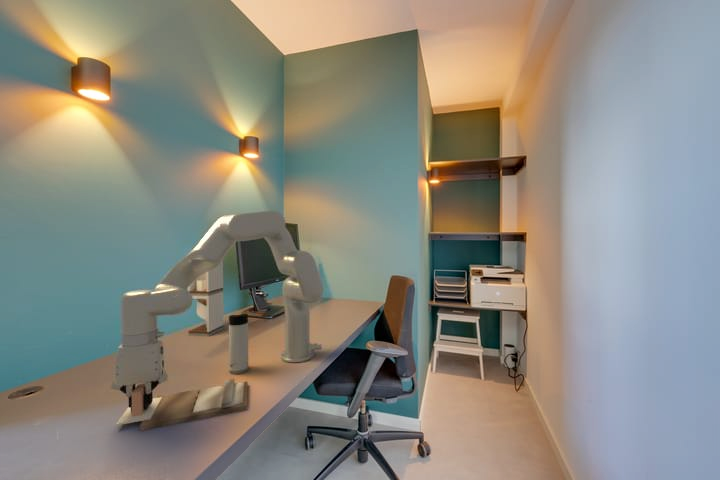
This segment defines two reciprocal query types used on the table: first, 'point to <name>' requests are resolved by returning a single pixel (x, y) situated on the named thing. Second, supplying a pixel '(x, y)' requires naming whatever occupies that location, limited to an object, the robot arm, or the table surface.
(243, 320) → the travel mug
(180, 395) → the ticket board
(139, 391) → the stub
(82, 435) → the table surface
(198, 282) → the display case
